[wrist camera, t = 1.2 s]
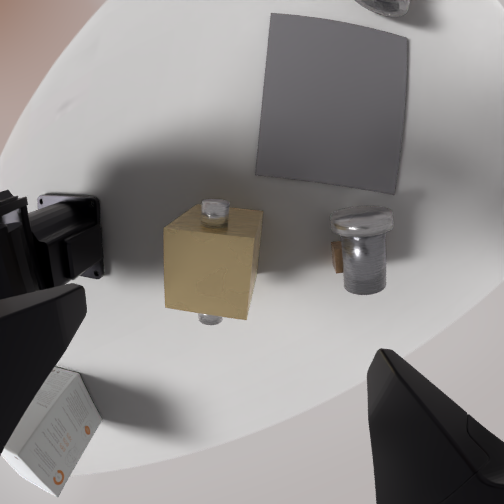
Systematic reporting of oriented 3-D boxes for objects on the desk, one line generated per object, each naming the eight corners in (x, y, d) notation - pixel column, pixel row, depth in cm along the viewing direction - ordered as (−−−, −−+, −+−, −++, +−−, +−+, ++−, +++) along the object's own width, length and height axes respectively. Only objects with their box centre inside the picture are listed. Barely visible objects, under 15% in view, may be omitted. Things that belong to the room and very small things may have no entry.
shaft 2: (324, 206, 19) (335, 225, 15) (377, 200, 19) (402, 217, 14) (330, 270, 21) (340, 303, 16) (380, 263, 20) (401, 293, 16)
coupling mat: (255, 174, 19) (255, 174, 19) (271, 14, 15) (270, 13, 15) (392, 194, 18) (394, 194, 18) (405, 39, 15) (407, 37, 14)
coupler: (194, 281, 22) (166, 325, 16) (197, 186, 20) (163, 203, 14) (255, 289, 22) (244, 338, 16) (265, 192, 19) (256, 212, 14)
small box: (41, 361, 28) (-20, 431, 16) (80, 371, 27) (17, 456, 15) (66, 409, 31) (20, 477, 19) (104, 420, 30) (59, 499, 18)
